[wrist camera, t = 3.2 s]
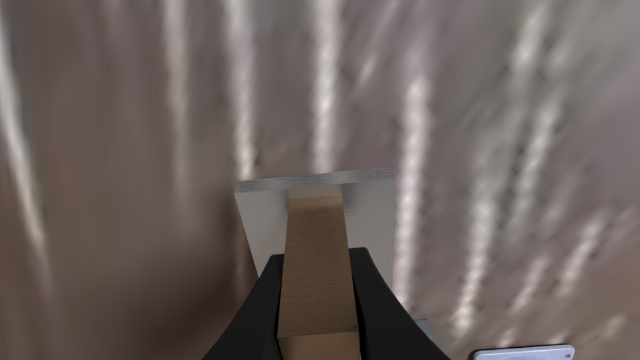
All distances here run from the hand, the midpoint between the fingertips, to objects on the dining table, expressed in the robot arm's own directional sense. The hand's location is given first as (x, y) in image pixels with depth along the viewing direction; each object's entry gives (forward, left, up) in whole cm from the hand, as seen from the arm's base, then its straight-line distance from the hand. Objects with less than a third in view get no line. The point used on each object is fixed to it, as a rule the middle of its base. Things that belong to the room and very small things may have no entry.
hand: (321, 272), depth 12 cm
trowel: (-1, 0, -3) cm, 3 cm away
